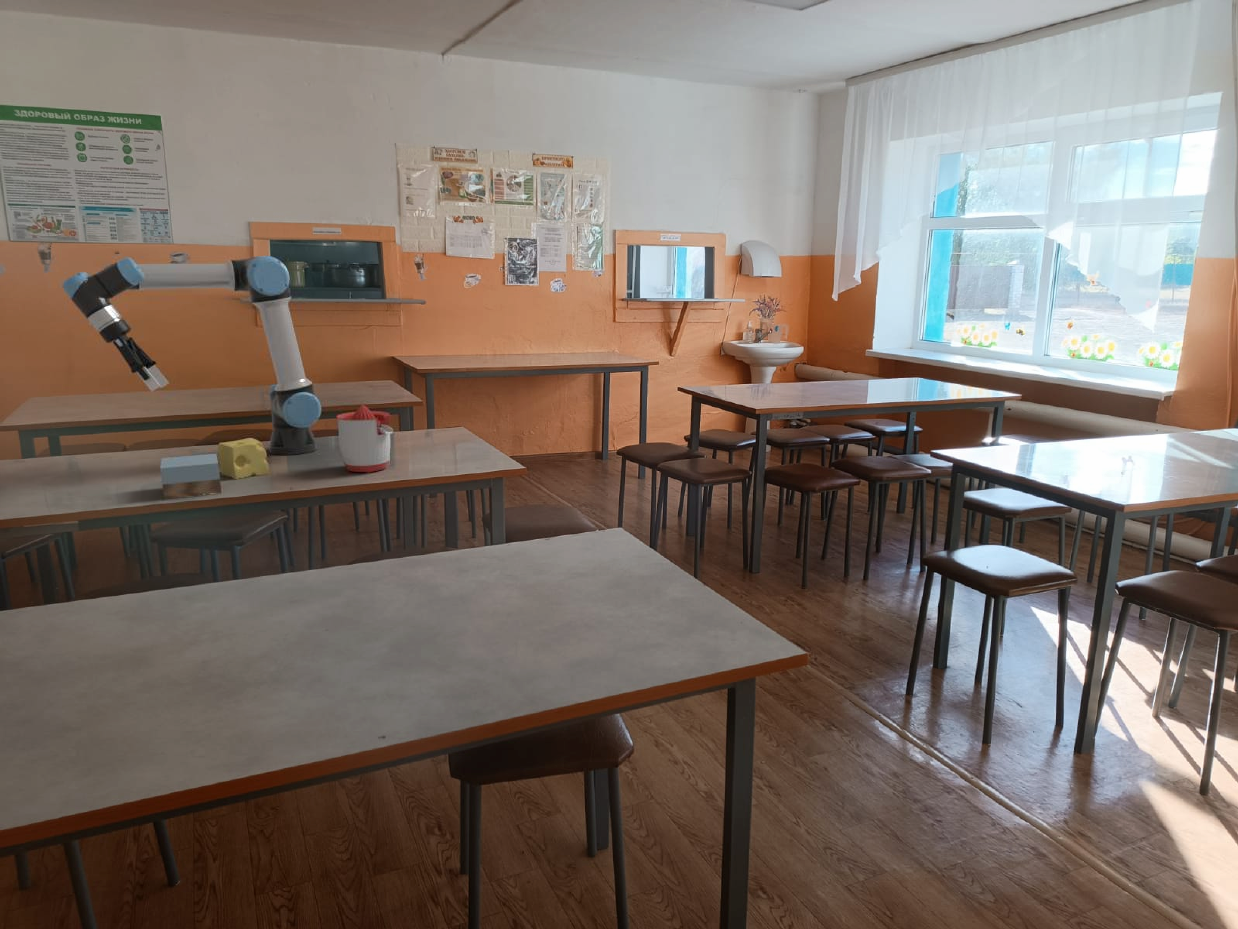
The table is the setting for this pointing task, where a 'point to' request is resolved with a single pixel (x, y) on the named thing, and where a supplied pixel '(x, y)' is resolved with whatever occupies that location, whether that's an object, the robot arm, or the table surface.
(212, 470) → the tower top block
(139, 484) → the table surface
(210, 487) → the tower base block
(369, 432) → the citrus juicer
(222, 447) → the cheese
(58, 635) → the table surface
